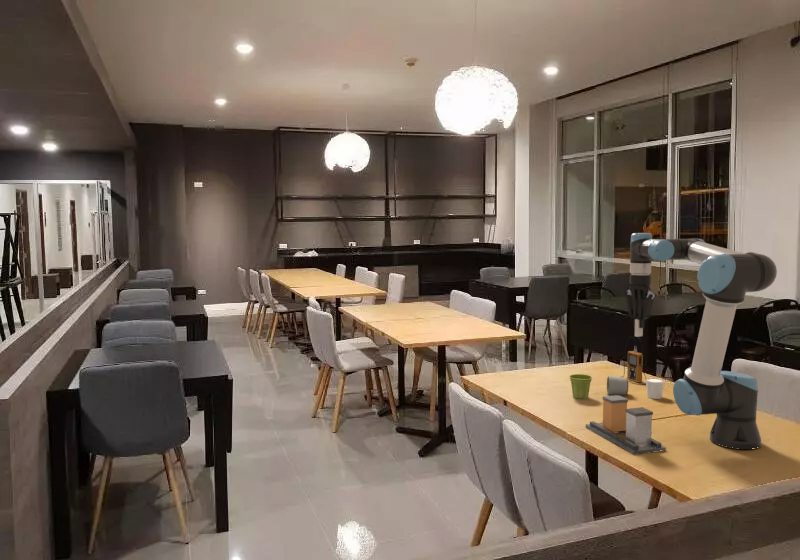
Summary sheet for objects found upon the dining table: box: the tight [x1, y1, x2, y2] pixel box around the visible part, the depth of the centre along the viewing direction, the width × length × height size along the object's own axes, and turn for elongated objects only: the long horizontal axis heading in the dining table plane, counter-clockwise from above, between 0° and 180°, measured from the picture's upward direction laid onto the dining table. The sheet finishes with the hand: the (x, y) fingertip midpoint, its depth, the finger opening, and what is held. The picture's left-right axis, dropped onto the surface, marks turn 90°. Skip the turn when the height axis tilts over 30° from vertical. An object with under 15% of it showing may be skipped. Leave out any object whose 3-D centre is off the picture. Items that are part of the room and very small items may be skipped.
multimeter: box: [622, 336, 648, 386], centre depth 297 cm, size 15×10×20 cm
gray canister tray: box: [585, 406, 667, 455], centre depth 222 cm, size 28×12×12 cm, turn 16°
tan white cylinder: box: [645, 378, 665, 400], centre depth 272 cm, size 7×7×7 cm
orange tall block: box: [602, 395, 629, 432], centre depth 227 cm, size 5×6×11 cm
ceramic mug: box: [606, 375, 629, 396], centre depth 278 cm, size 11×8×8 cm
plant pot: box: [568, 373, 593, 400], centre depth 272 cm, size 9×9×9 cm
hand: (638, 336), depth 249 cm, fingers closed
